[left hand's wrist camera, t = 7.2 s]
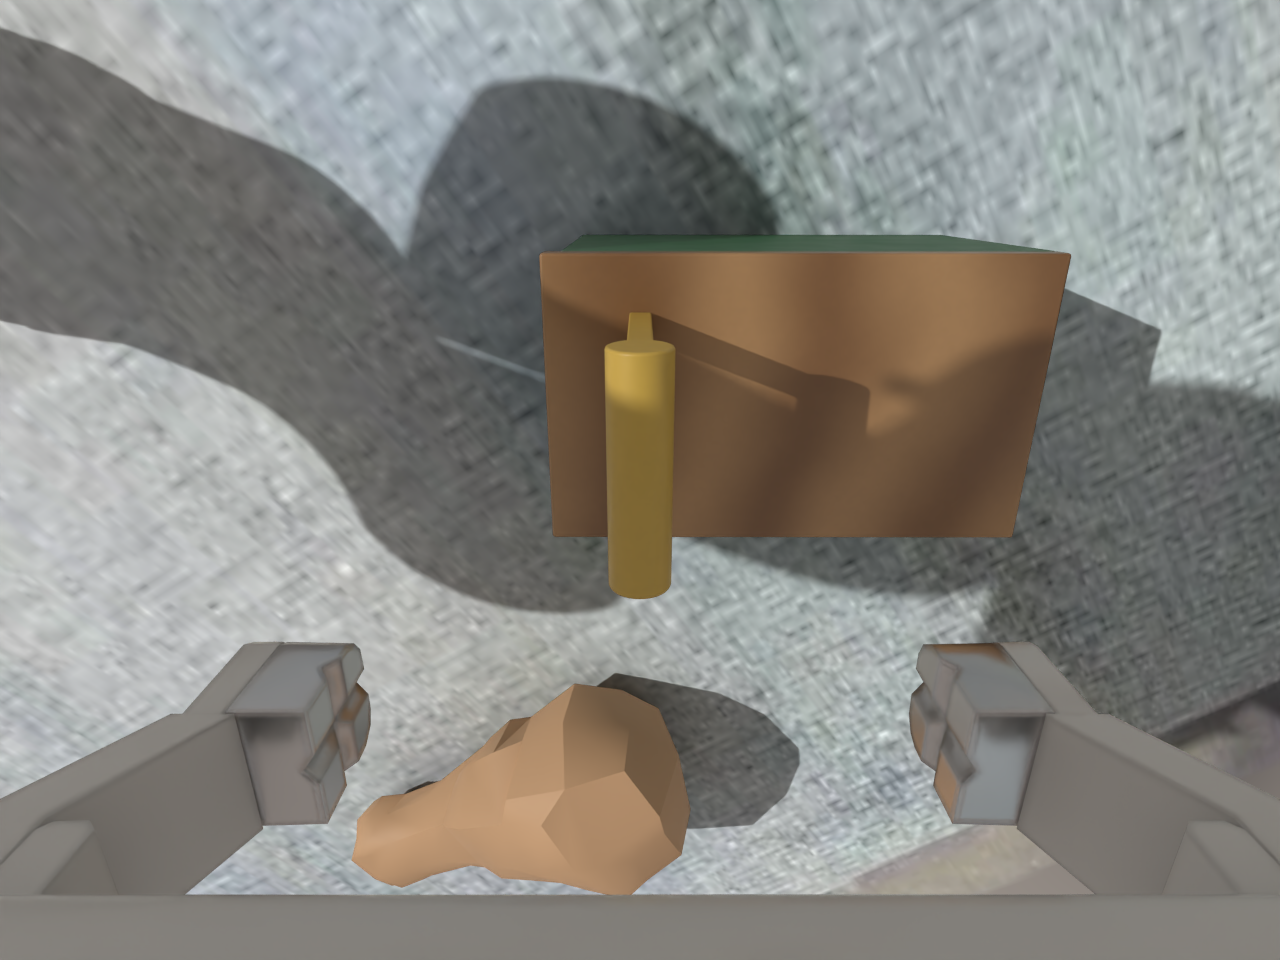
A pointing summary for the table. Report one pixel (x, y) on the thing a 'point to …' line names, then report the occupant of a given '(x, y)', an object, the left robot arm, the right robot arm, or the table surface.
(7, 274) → the table surface
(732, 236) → the chest
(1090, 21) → the table surface
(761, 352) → the lid
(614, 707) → the squash
